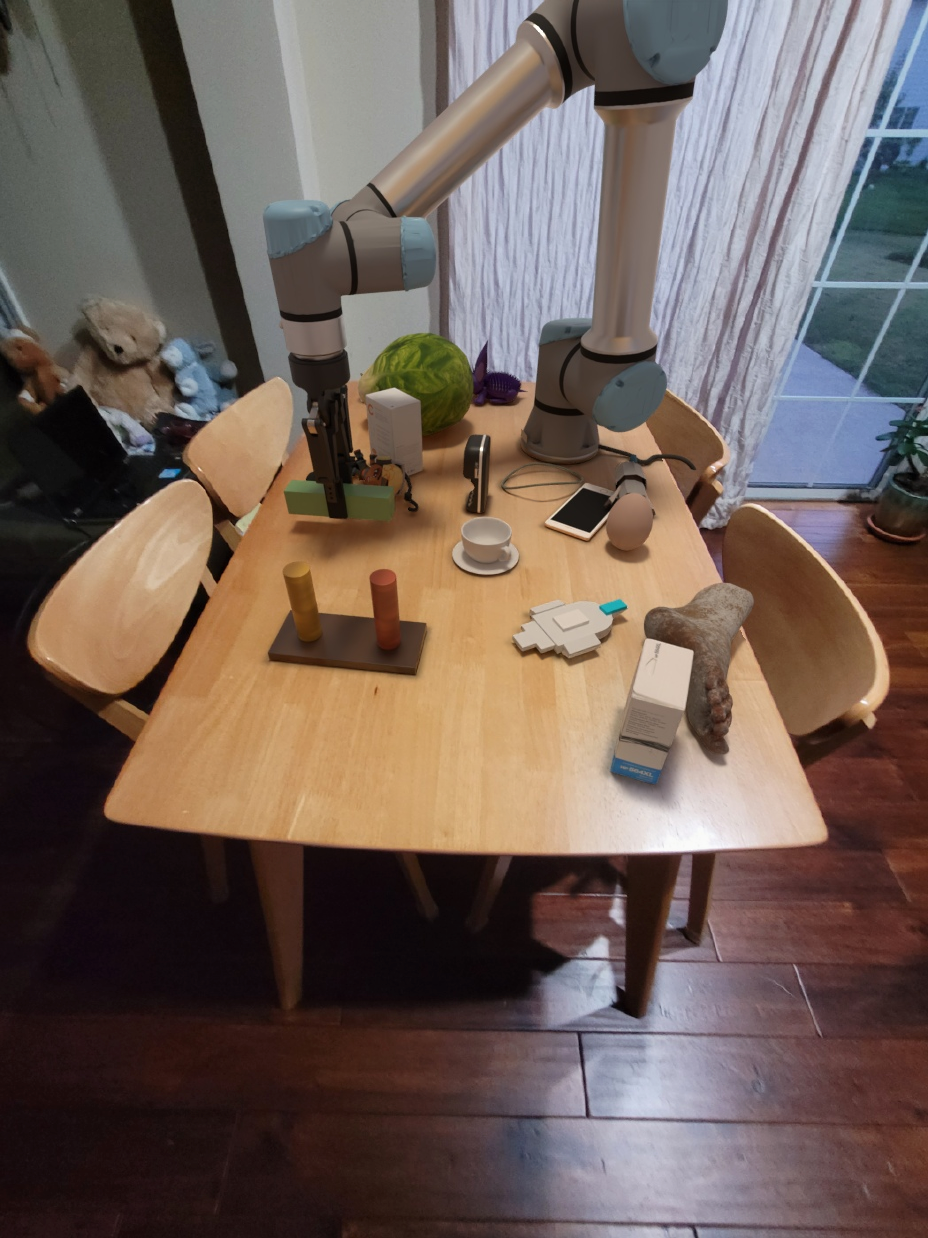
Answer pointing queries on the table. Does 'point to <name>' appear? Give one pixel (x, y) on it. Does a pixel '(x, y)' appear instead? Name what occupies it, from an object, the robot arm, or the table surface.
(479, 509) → the battery charger
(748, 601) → the sculpture
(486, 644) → the table surface
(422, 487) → the table surface
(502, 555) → the teacup
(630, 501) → the egg
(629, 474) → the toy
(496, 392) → the creature
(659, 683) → the ink box
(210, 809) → the table surface
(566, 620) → the toy rocket
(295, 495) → the bar
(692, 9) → the robot arm
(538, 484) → the loop
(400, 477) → the toy
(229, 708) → the table surface
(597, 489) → the cell phone
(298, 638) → the rods
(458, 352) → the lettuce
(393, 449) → the small box
